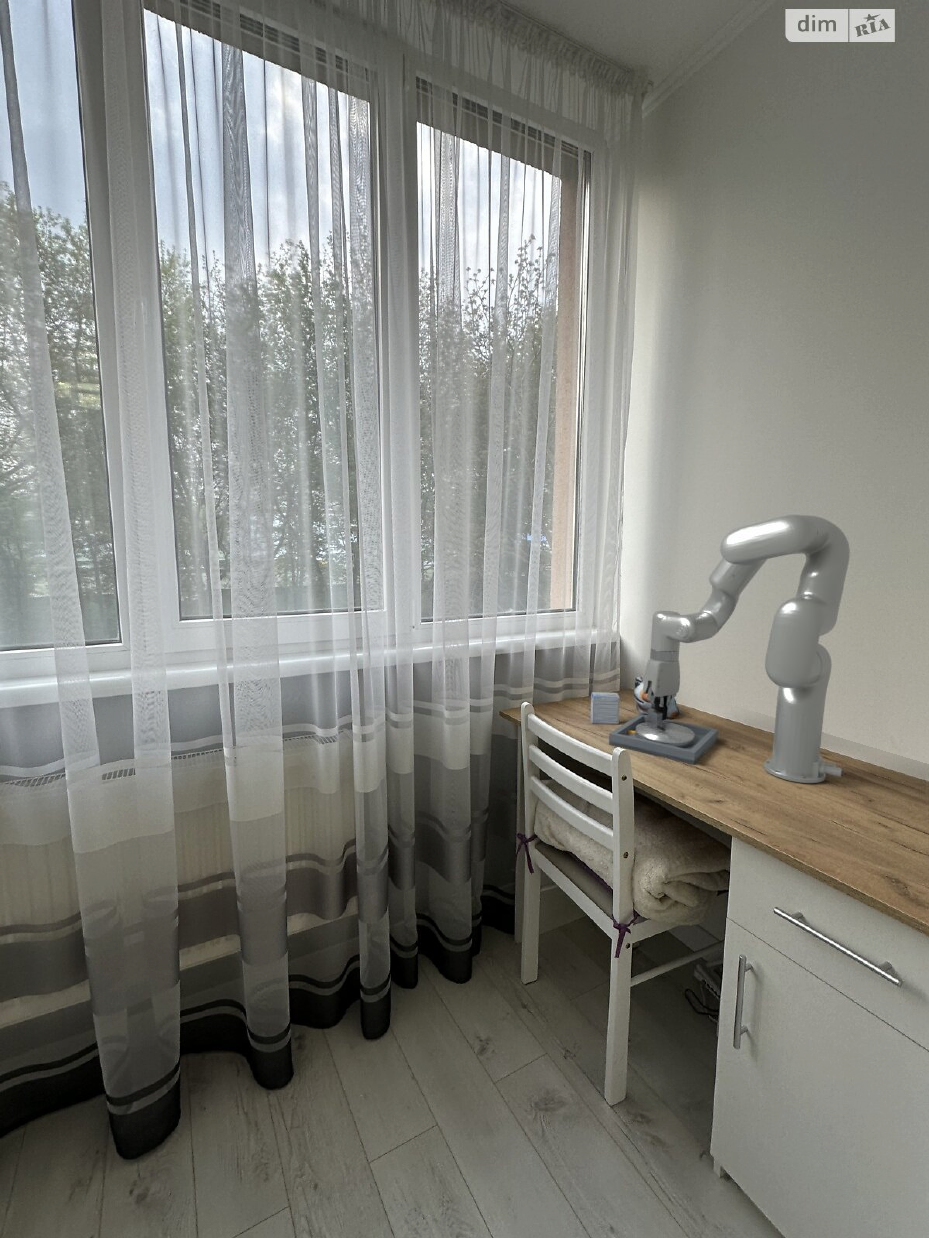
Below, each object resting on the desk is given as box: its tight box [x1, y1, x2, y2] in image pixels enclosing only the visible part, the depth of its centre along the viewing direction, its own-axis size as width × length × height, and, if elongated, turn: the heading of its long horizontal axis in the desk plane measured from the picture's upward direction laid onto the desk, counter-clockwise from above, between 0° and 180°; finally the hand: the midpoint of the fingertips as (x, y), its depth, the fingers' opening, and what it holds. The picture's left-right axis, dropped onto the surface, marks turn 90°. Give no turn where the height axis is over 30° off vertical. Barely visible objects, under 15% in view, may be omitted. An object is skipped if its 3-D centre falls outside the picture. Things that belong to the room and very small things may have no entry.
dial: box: [635, 709, 694, 748], centre depth 152 cm, size 15×15×6 cm
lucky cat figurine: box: [633, 676, 682, 720], centre depth 176 cm, size 15×12×14 cm
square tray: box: [608, 713, 719, 766], centre depth 153 cm, size 22×22×3 cm
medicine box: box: [590, 691, 621, 725], centre depth 169 cm, size 8×4×9 cm, turn 84°
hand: (660, 718), depth 159 cm, fingers closed
